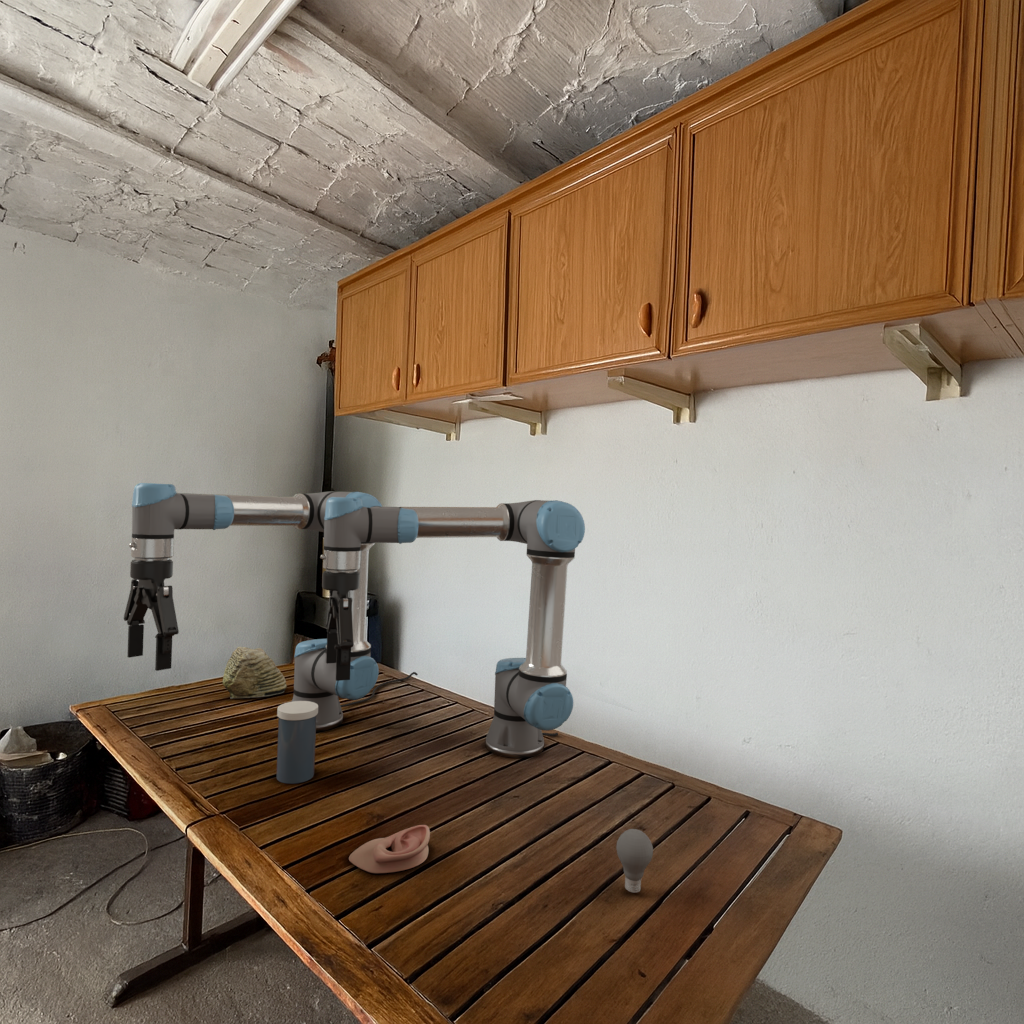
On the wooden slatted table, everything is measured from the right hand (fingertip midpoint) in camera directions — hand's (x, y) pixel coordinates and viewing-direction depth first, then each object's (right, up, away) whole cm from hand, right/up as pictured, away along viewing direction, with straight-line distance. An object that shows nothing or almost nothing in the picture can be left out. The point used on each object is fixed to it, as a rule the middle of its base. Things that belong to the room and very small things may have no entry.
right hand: (337, 671), depth 133 cm
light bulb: (+57, -30, -28) cm, 70 cm away
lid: (-12, -11, +10) cm, 18 cm away
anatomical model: (+15, -28, -21) cm, 38 cm away
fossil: (-44, -24, +65) cm, 82 cm away
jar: (-12, -26, +10) cm, 30 cm away
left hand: (-37, +3, -4) cm, 38 cm away
